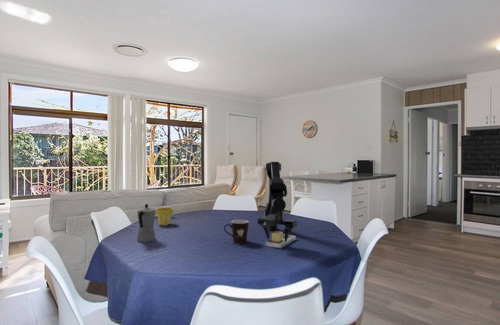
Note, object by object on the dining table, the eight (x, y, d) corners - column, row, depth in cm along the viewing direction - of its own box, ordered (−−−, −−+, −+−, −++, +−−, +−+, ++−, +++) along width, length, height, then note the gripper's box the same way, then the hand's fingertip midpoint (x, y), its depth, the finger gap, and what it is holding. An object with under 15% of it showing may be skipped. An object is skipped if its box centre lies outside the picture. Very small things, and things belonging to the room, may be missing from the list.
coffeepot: (141, 236, 154) (142, 202, 154) (159, 236, 154) (159, 202, 154) (129, 244, 139) (129, 206, 139) (149, 244, 139) (149, 207, 139)
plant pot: (166, 221, 191) (166, 206, 191) (176, 223, 185) (176, 208, 185) (152, 224, 182) (152, 208, 182) (163, 226, 176) (163, 210, 176)
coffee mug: (250, 240, 148) (251, 220, 148) (245, 244, 140) (245, 224, 140) (229, 238, 152) (229, 218, 152) (222, 242, 144) (223, 222, 143)
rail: (265, 245, 139) (265, 241, 139) (281, 237, 154) (281, 233, 154) (280, 248, 134) (280, 244, 134) (295, 239, 150) (295, 235, 150)
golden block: (271, 245, 139) (271, 232, 139) (275, 243, 143) (275, 231, 143) (279, 246, 137) (279, 233, 137) (282, 244, 141) (282, 232, 141)
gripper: (251, 208, 138) (251, 241, 138) (288, 212, 128) (288, 247, 128) (263, 205, 147) (262, 236, 147) (297, 208, 138) (297, 241, 138)
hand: (276, 240), depth 140 cm, fingers open, 9 cm apart
